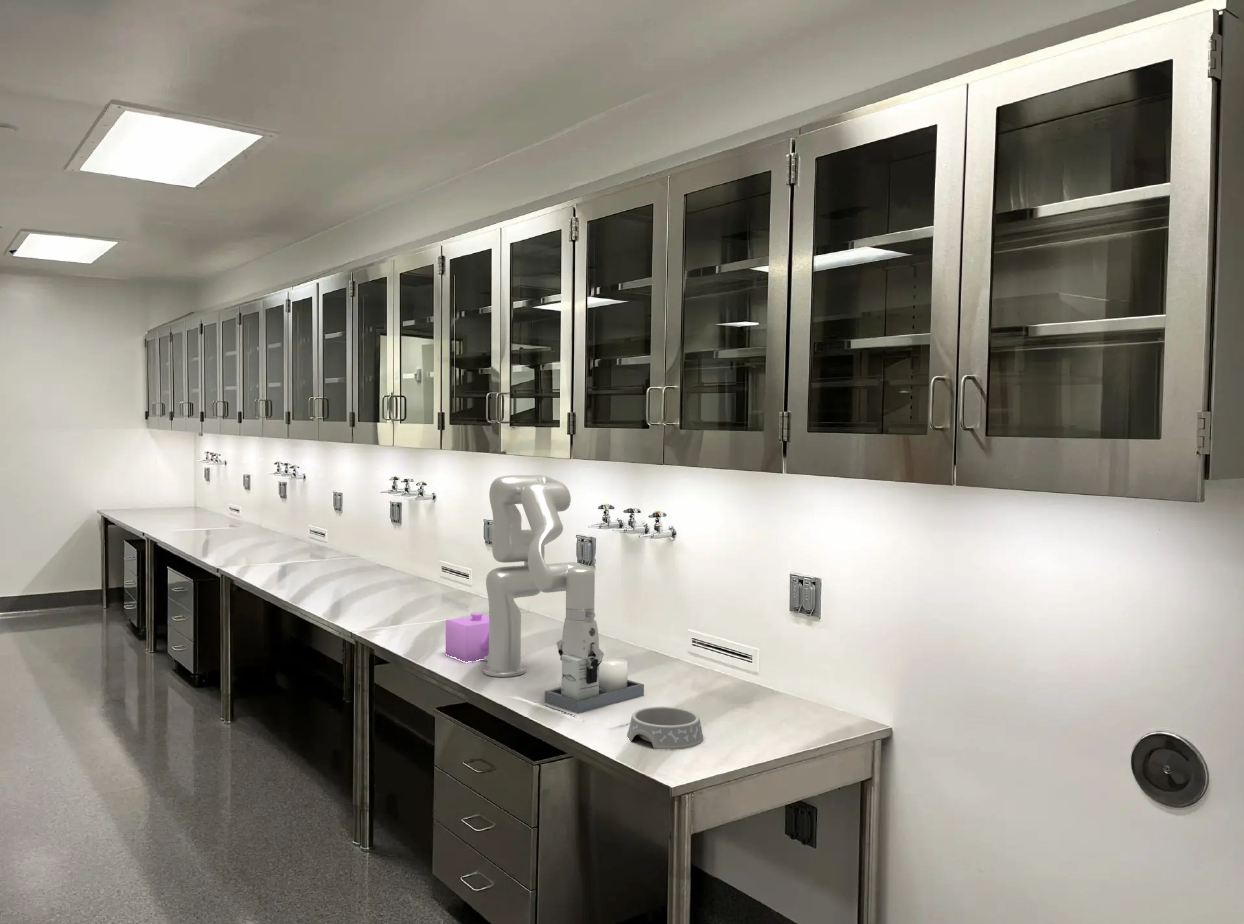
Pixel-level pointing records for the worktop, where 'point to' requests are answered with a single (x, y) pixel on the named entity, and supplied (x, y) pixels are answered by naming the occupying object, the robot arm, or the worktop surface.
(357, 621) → the worktop surface
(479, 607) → the worktop surface
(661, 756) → the worktop surface
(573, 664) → the supplement box
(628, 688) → the divided grey tray
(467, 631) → the teapot
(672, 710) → the dog bowl
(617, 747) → the worktop surface
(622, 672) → the white rounded cylinder
